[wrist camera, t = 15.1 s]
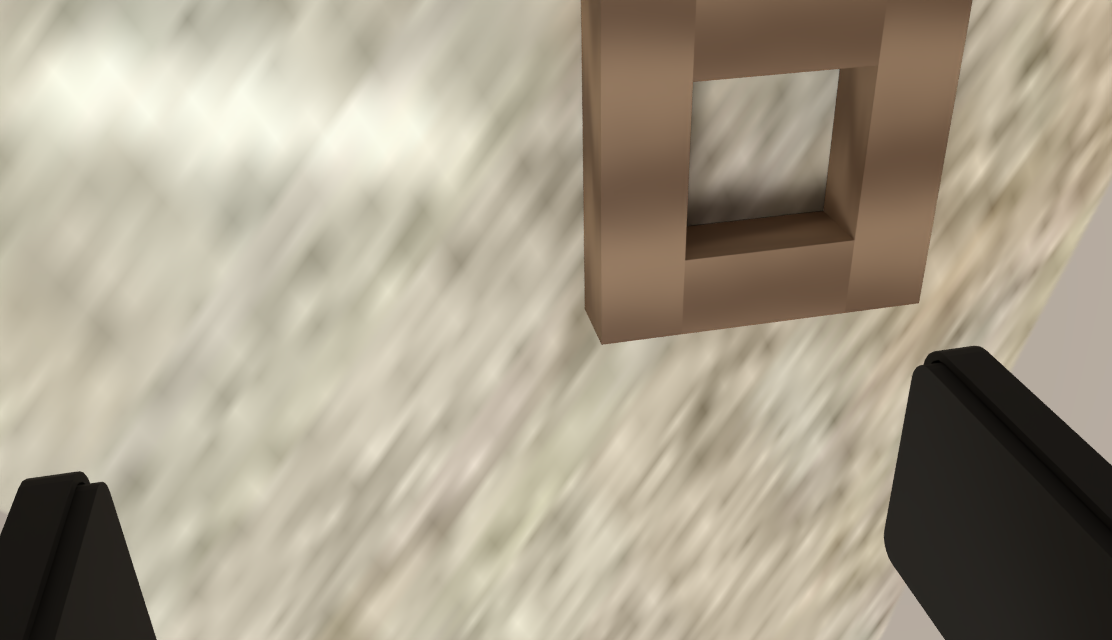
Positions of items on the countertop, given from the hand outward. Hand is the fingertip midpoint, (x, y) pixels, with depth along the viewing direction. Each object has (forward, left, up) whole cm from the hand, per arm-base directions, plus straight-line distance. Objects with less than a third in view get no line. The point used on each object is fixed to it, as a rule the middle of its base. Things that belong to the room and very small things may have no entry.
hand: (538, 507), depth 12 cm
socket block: (+7, +14, -28) cm, 32 cm away
